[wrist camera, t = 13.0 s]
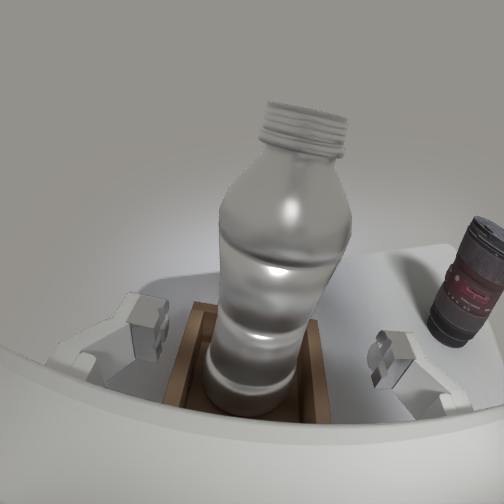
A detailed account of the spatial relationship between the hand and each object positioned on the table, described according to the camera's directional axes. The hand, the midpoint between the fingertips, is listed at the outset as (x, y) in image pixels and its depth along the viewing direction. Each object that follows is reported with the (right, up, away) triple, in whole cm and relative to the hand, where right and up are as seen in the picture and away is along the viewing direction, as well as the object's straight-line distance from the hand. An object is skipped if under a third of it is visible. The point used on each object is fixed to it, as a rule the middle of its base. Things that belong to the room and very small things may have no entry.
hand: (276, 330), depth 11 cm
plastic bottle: (-2, -8, +11) cm, 14 cm away
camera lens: (+25, -8, +22) cm, 34 cm away
